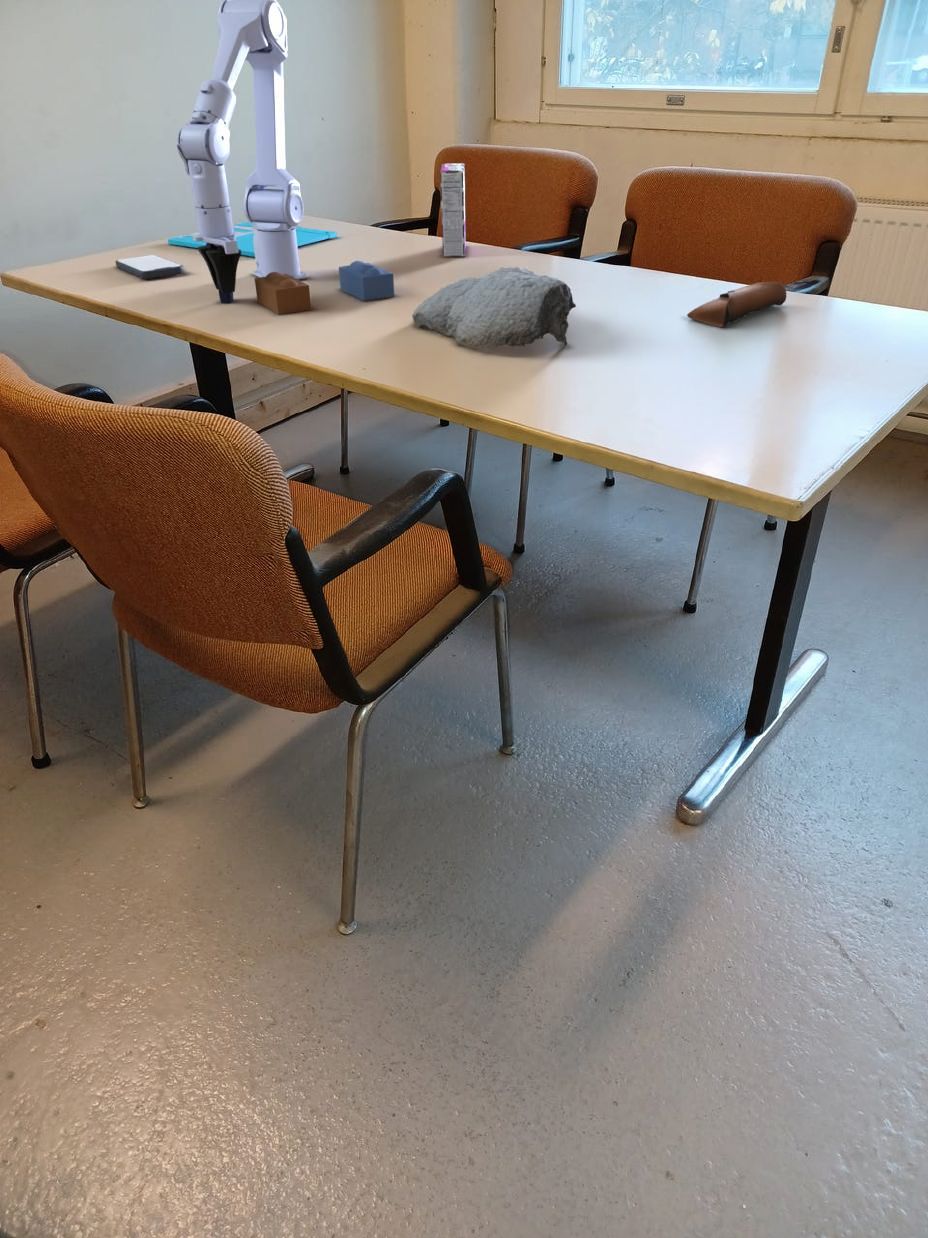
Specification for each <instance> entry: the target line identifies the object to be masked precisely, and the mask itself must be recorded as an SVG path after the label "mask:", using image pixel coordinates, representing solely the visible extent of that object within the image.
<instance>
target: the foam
mask: <svg viewBox="0 0 928 1238" xmlns="http://www.w3.org/2000/svg"><path fill="white" fill-rule="evenodd" d="M574 308H577V304H576V303H575V302H574V299H573V293H572V290H571V288H570V287H569V286H568V284H567V283H565V281H562V280H560V279H558V278H556V277H551V276H548V275H539V274H535V272H534V271H532V270H528V269H526V268H525V267H524V268H522V267H518V266H516V267H511V266H509V267H507V266H506V267H500V268H498V269H495V270H493V271H491V272H489V273H486V274H484V275H482V276H481V277H480V276H479V277H475V276H473V277H471V276H469V277H465V278H461V279H459V280H457V281H454V282H452V283H450V284H448V285H445V286H443V287H441V288H439V290H437V291H435V292H434V293H433V294H432V295H430V296H429V297H427V298H425V300H423V301H422V302H421V303H420V304H419V305H418V306H417V307H416V308H415V310H414V311H413V313H412V315H411V317H412V321H413V323H414V324H415V326H416V327H421V326H424V325H425V326H427V327H428V328H429V330H434V331H435V332H438V333H440V334H443V335H445V336H446V337H451V336H452V337H454V338H455V340H456V344H457V345H459V346H460V345H463V346H468V347H469V348H471V349H476V348H478V347H480V348H482V349H483V348H490V349H491V348H492V349H494V348H497V347H503V346H508V347H521V346H522V347H526V346H529V345H531V344H533V343H534V342H535V341H536V340H541V339H544V337H545V335H547V334H550V335H552V336H553V338H554V339H555V340H556V341H557V342H559V343H561V344H564V346H566V347H567V346H568V339H567V331H568V328H569V322H568V316H569V315H570V312H571V311H572V309H574Z"/></svg>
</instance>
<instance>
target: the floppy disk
mask: <svg viewBox="0 0 928 1238" xmlns="http://www.w3.org/2000/svg"><path fill="white" fill-rule="evenodd" d="M233 229H234V233H235V235H236V241H237V246H238V249H240V250H241V256H247V257H253V258H255V251H254V244H253V237H254V234H255V231H256V230H257V229H254V228H253V225H252V223H250V222H249V221H248V222H239V223H235V224H233ZM194 235H199V231H198V232H197V231H196V232H194V233H189V234H188V233H187V234H186V235H183V236H181V237H180V236H175V237H171V238H167V243H168V244H169V245H175V246H182V247H189V248H195V249H198V247H200V246H206V244H207V243H206V242H202V241H199V242H196V241H194V240H193V236H194ZM337 237H338V232H337V231H331V230H325V229H324V230H323V229H315V228H307V227H300V226H299V227H296V238H297V247H301V246H304V245H309V244H311V243H317V242H319V241H323V240H327V239H333V238H337Z"/></svg>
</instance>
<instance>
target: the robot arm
mask: <svg viewBox="0 0 928 1238" xmlns="http://www.w3.org/2000/svg"><path fill="white" fill-rule="evenodd" d="M215 20H216V26H217V30H218V35H219V36H220V38H219V42H218V46H217V51H216V56H215V59H214V60H215V61H214V63H213V64H214V65H213V69H212V74H211V79H207V80H204V81H203V82H202V83H201V85H200V88H199V91H198V95H197V98H196V101H195V104H194V108H193V110H192V113H191V117H190V120H189V123H185V125H183V126H182V127H181V128H180V129H179V132H178V133H177V134H178V135H177V144H176V150H177V152H178V155H179V157H180V158H181V160H182V162H183V164H184V168H185V169H184V170H185V172H186V174H187V176H189V179H190V184H191V192H192V198H193V203H194V209H195V215H196V221H197V230H198V232H199V235H194V236H193V240H194V241H196V242H199V241H202V242H206V243H207V244H206V246H200V247H198V248H197V250H198V252H199V254H200V255H201V256H202V258H203V260H204V262H205V264H206V266H207V268H208V271H209V273H210V277H211V279H212V282H213V285H214V287H215V289H216V290H217V291H218V285H217V279H218V282H219V286H220V289H221V291H222V293H231V292H233V293H235V291H236V282H237V281H236V280H237V269H238V266H239V261H240V259H241V256H242V255H241V250H240V249H238V246H237V241H236V235H235V233H234V229H233V225H234V222H233V216H232V210H231V203H230V202H231V201H230V195H229V187H228V181H227V175H226V167H225V163H226V162H227V160H228V158H229V156H230V152H231V149H230V148H231V146H230V145H231V144H230V135H231V134H230V130H229V127H230V124H231V120H232V118H233V114H234V111H235V107H236V106H237V105H236V104H237V96H236V95H235V92H234V91H233V90H234V86H235V84H236V82H237V79H238V77H239V75H240V72H241V70H242V67H243V65H244V62H245V61H247V62H248V63H249V65H250V66H251V68H252V73H253V74H252V76H253V99H254V100H253V103H254V104H253V105H254V106H253V107H254V129H255V130H254V131H255V158H256V159H255V160H256V161H255V162H256V163H255V164H256V169H255V170H254V171H253V172H252V173H251V174H250V175H249V176H248V177H247V178H246V180H245V191H244V196H243V202H242V205H243V212H244V215H245V217H246V219H247V221H248V222H250V223H252V225H253V228H254V229H257V230H256V231H255V234H254V237H253V244H254V251H255V257H254V258H255V259H254V260H255V265H256V270H254V271H252V275H254V276H256V278H260V277H266V276H267V275H268V274H269V273H271V272H278V273H281V274H288V275H290V276H292V277H294V278H296V279H298V280H304V279H309V275H308V274H306V273H304V272H302V271H301V267H300V266H301V265H300V259H299V258H300V257H299V248H298V247H299V246H297V238H296V227H300V224H301V222H302V220H303V218H304V210H305V209H304V201H303V198H302V194H301V184H300V182H299V181H298V180H297V179H296V178H295V177H293V176H292V174H290V173H289V172H288V171H287V169H286V167H287V166H286V128H285V127H286V126H285V124H286V123H285V122H286V121H285V85H284V82H285V81H284V61H286V59H287V58H288V29H287V26H288V24H287V18H286V15H285V14H284V11H283V9H282V7H281V5H280V4H279V2H278V0H222V1H221V2H220V4H219V6H218V11H217V16H216V19H215ZM267 187H278V188H279V189H278V188H267ZM280 188H281V189H280ZM216 275H217V278H216Z"/></svg>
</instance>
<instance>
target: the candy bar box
mask: <svg viewBox="0 0 928 1238" xmlns="http://www.w3.org/2000/svg"><path fill="white" fill-rule="evenodd" d="M439 176H440V206H441V207H440V210H441V237H442V238H441V240H442V256H443V258H463V257H464V258H465V257H466V248H467V247H466V246H467V245H466V242H467V241H466V240H467V239H466V237H467V236H466V184H465V183H466V181H465V179H466V177H465V163H462V162H461V163H460V162H459V163H458V162H457V163H455V162H453V163H447V162H446V163H442V164H441V169H440V171H439Z"/></svg>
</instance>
